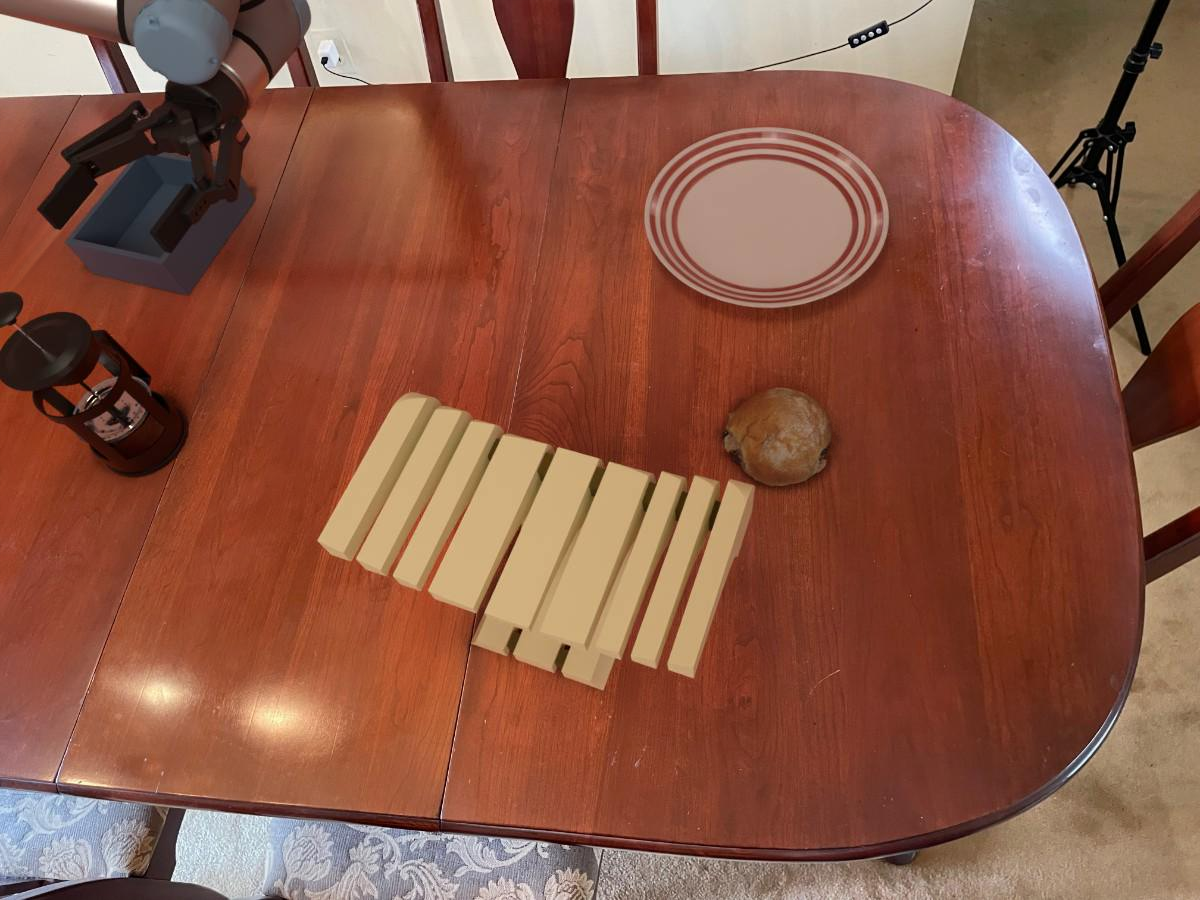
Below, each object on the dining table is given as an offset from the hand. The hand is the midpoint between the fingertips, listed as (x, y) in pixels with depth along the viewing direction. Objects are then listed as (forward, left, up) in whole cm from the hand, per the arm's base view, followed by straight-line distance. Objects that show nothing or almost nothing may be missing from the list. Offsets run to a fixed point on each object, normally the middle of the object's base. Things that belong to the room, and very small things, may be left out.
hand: (102, 231), depth 82 cm
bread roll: (+66, +5, -20) cm, 69 cm away
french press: (0, -12, -20) cm, 23 cm away
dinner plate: (+58, +33, -20) cm, 69 cm away
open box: (-14, +15, -19) cm, 28 cm away
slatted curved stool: (+51, -15, -20) cm, 57 cm away
